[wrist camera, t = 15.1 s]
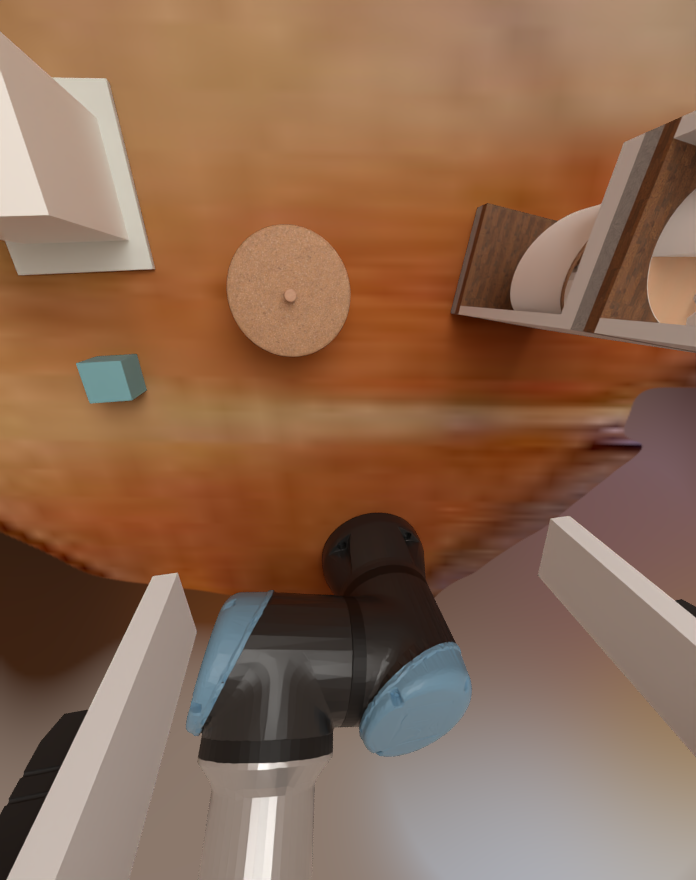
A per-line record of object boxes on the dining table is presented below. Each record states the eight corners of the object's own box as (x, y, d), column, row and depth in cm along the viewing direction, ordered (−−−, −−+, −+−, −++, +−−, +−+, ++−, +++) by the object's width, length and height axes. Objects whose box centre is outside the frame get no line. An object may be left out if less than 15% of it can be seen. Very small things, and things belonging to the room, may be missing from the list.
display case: (568, 230, 39) (1784, -34, 7) (534, 328, 43) (1230, 434, 11) (477, 207, 37) (1669, -323, 5) (450, 313, 41) (1023, 392, 9)
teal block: (146, 390, 39) (132, 400, 35) (108, 392, 39) (89, 403, 35) (137, 353, 37) (120, 360, 34) (97, 356, 37) (75, 363, 33)
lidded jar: (218, 262, 35) (195, 253, 27) (315, 219, 35) (323, 196, 27) (267, 360, 40) (261, 379, 31) (353, 322, 40) (371, 331, 31)
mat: (155, 269, 35) (152, 268, 34) (22, 275, 33) (18, 275, 33) (109, 82, 29) (105, 78, 28) (-53, 80, 28) (-60, 75, 27)
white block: (129, 240, 33) (49, 215, 22) (24, 244, 32) (-114, 219, 21) (96, 117, 29) (-19, 15, 18) (-23, 117, 28) (-220, 8, 17)
